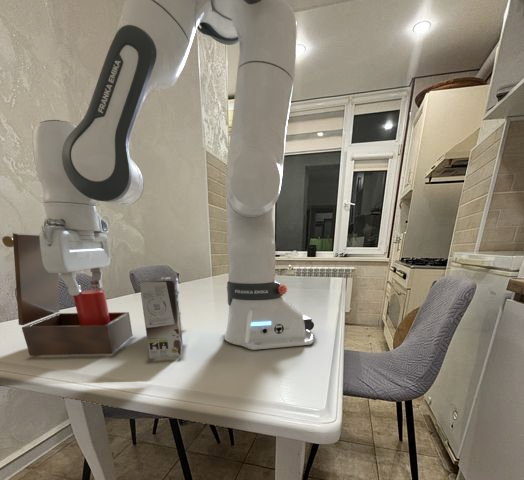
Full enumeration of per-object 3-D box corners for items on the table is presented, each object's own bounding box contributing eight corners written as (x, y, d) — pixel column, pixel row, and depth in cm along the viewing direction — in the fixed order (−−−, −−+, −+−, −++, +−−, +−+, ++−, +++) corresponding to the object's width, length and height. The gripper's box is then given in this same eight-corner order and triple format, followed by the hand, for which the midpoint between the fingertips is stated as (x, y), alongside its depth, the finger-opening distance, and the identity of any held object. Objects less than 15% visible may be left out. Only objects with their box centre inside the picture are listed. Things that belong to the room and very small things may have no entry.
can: (118, 339, 70) (109, 289, 66) (107, 348, 64) (97, 293, 60) (92, 340, 69) (81, 289, 65) (79, 348, 64) (66, 294, 60)
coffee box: (182, 359, 60) (174, 280, 54) (149, 362, 59) (137, 281, 53) (183, 345, 68) (177, 275, 63) (155, 347, 67) (145, 276, 62)
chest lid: (58, 235, 64) (32, 230, 63) (17, 234, 52) (-16, 227, 52) (59, 311, 70) (35, 307, 69) (22, 325, 58) (-7, 320, 57)
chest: (133, 338, 73) (129, 312, 71) (112, 356, 62) (106, 325, 59) (64, 339, 72) (58, 313, 70) (30, 358, 60) (21, 327, 58)
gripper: (60, 217, 48) (77, 300, 53) (111, 224, 67) (120, 285, 72) (20, 216, 48) (41, 300, 53) (83, 224, 67) (94, 284, 72)
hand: (87, 291), depth 63 cm, fingers open, 8 cm apart
